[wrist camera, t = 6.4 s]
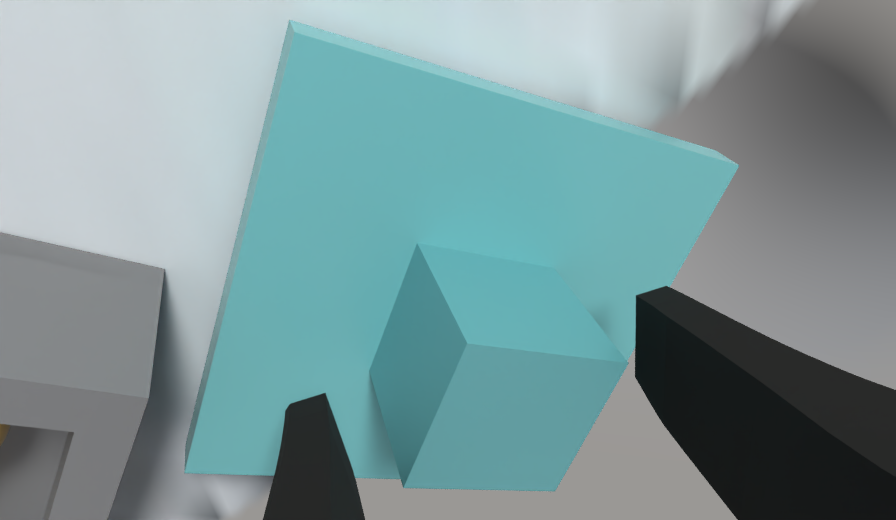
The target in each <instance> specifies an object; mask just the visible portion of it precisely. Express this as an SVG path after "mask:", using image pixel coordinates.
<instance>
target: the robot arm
mask: <svg viewBox="0 0 896 520" xmlns="http://www.w3.org/2000/svg"><path fill="white" fill-rule="evenodd" d="M635 377H636V379H637V381H638V383H639V384H640V386H641V388H642V389H643V391H644V393H645V395H646V397H647V398H648V400H649V402H650V403H651V405H652V407H653V408H654V410H655V412H656V413H657V415H658V417H659V418H660V420H661V421H662V423H663V424H664V426H665V427H666V428H667V430H668V431H669V432H670V434H671V435H672V436H673V438H674V439H675V440H676V441H677V443H678V444H679V445H680V447H681V448H682V449H683V451H684V452H685V453H686V454H687V456H688V457H689V458H690V460H691V461H692V462H693V463H694V464H695V466H696V467H697V468H698V470H699V471H700V472H701V474H702V475H703V476H704V477H705V479H706V480H707V481H708V482H709V484H710V485H711V486H712V487H713V489H714V490H715V491H716V493H717V494H718V495H719V496H720V498H721V499H722V500H723V502H724V503H725V504H726V505H727V507H728V508H729V509H730V510H731V512H732V513H733V514H734V516H735V517H736V518H737V519H738V520H896V390H894V389H891V388H888V387H886V386H883V385H880V384H877V383H874V382H871V381H869V380H866V379H863V378H861V377H858V376H856V375H853V374H851V373H848V372H846V371H843V370H841V369H839V368H836V367H834V366H831V365H829V364H827V363H825V362H822V361H820V360H818V359H815V358H813V357H811V356H808V355H806V354H804V353H802V352H799V351H797V350H795V349H793V348H791V347H788V346H786V345H784V344H782V343H780V342H778V341H776V340H773V339H771V338H769V337H767V336H765V335H763V334H761V333H759V332H757V331H755V330H753V329H751V328H749V327H747V326H745V325H743V324H741V323H739V322H737V321H735V320H733V319H731V318H729V317H727V316H725V315H723V314H721V313H719V312H718V311H716V310H714V309H712V308H710V307H708V306H706V305H704V304H702V303H700V302H698V301H696V300H694V299H692V298H690V297H688V296H686V295H684V294H682V293H680V292H678V291H676V290H674V289H672V288H670V287H668V286H664V287H661V288H658V289H654V290H651V291H648V292H645V293H642V294H638V295H636V335H635ZM263 520H365V517H364V513H363V509H362V505H361V501H360V496H359V492H358V488H357V484H356V480H355V476H354V472H353V469H352V466H351V463H350V460H349V457H348V455H347V452H346V449H345V446H344V443H343V441H342V438H341V435H340V432H339V429H338V427H337V424H336V421H335V418H334V415H333V412H332V410H331V407H330V404H329V401H328V398H327V396H326V393H323V394H320V395H316V396H313V397H310V398H307V399H304V400H300V401H297V402H294V403H291V404H290V405H289V406H288V407H287V409H286V410H285V419H284V427H283V434H282V440H281V446H280V451H279V456H278V461H277V466H276V470H275V475H274V479H273V483H272V487H271V491H270V495H269V498H268V502H267V506H266V510H265V514H264V518H263Z"/></svg>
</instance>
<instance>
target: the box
mask: <svg viewBox="0 0 896 520" xmlns="http://www.w3.org/2000/svg"><path fill="white" fill-rule="evenodd" d="M164 270H165V269H162V268H157V267H153V266H148V265H144V264H139V263H135V262H130V261H126V260H121V259H117V258H112V257H108V256H103V255H99V254H94V253H90V252H85V251H81V250H76V249H72V248H67V247H63V246H58V245H54V244H49V243H45V242H40V241H36V240H31V239H27V238H22V237H18V236H13V235H9V234H4V233H0V520H107V519H108V516H109V513H110V510H111V507H112V504H113V501H114V499H115V496H116V493H117V490H118V487H119V484H120V481H121V478H122V475H123V472H124V469H125V466H126V464H127V461H128V458H129V455H130V452H131V449H132V446H133V443H134V440H135V437H136V434H137V431H138V429H139V426H140V423H141V420H142V417H143V414H144V411H145V408H146V405H147V402H148V399H149V393H150V385H151V377H152V368H153V360H154V352H155V344H156V335H157V327H158V319H159V311H160V303H161V294H162V286H163V278H164Z"/></svg>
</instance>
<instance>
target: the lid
mask: <svg viewBox="0 0 896 520" xmlns="http://www.w3.org/2000/svg"><path fill="white" fill-rule="evenodd" d="M738 167H739V165H738V164H736V163H734V162H733V161H731V160H730V159H728V158H726V157H725V156H723V155H722V154H720V153H719V152H717V151H715V150H712V149H709V148H706V147H703V146H699V145H696V144H693V143H690V142H686V141H683V140H680V139H677V138H673V137H670V136H666V135H663V134H660V133H657V132H654V131H650V130H647V129H644V128H641V127H637V126H634V125H631V124H628V123H624V122H621V121H618V120H615V119H611V118H608V117H605V116H602V115H598V114H595V113H592V112H588V111H585V110H582V109H579V108H575V107H572V106H569V105H566V104H562V103H559V102H556V101H553V100H549V99H546V98H543V97H540V96H536V95H533V94H530V93H526V92H523V91H520V90H517V89H513V88H510V87H507V86H504V85H500V84H497V83H494V82H491V81H487V80H484V79H481V78H478V77H474V76H471V75H468V74H465V73H461V72H458V71H455V70H451V69H448V68H445V67H442V66H438V65H435V64H432V63H429V62H425V61H422V60H419V59H416V58H412V57H409V56H406V55H403V54H399V53H396V52H393V51H389V50H386V49H383V48H380V47H376V46H373V45H370V44H367V43H363V42H360V41H357V40H354V39H350V38H347V37H344V36H341V35H337V34H334V33H331V32H327V31H324V30H321V29H318V28H314V27H311V26H308V25H305V24H301V23H298V22H295V21H292V20H289V24H288V28H287V32H286V36H285V40H284V44H283V48H282V52H281V56H280V61H279V65H278V69H277V73H276V77H275V81H274V85H273V89H272V93H271V97H270V101H269V106H268V110H267V114H266V118H265V122H264V126H263V130H262V134H261V138H260V142H259V146H258V151H257V155H256V159H255V163H254V167H253V171H252V175H251V179H250V183H249V187H248V191H247V196H246V200H245V204H244V208H243V212H242V216H241V220H240V224H239V228H238V232H237V236H236V240H235V245H234V249H233V253H232V257H231V261H230V265H229V269H228V273H227V277H226V281H225V285H224V290H223V294H222V298H221V302H220V306H219V310H218V314H217V318H216V322H215V326H214V330H213V335H212V339H211V343H210V347H209V351H208V355H207V359H206V363H205V367H204V371H203V375H202V380H201V384H200V388H199V392H198V396H197V400H196V404H195V408H194V412H193V416H192V420H191V424H190V429H189V433H188V437H187V441H186V449H185V472H184V473H195V474H232V475H268V476H274V475H275V470H276V466H277V461H278V456H279V451H280V446H281V440H282V434H283V427H284V419H285V410H286V409H287V407H288V406H289V405H290V404H291V403H294V402H297V401H300V400H304V399H307V398H310V397H313V396H316V395H320V394H323V393H326V396H327V398H328V401H329V404H330V407H331V410H332V412H333V415H334V418H335V421H336V424H337V427H338V429H339V432H340V435H341V438H342V441H343V443H344V446H345V449H346V452H347V455H348V457H349V460H350V463H351V466H352V469H353V472H354V476H355V478H377V479H401V481H402V485H403V488H429V489H473V490H519V491H555V490H556V488H557V487H558V485H559V483H560V482H561V480H562V478H563V477H564V475H565V473H566V471H567V470H568V468H569V466H570V464H571V463H572V461H573V459H574V457H575V456H576V454H577V452H578V450H579V449H580V447H581V445H582V443H583V442H584V440H585V438H586V436H587V435H588V433H589V431H590V430H591V428H592V426H593V424H594V423H595V421H596V419H597V417H598V416H599V414H600V412H601V410H602V409H603V407H604V405H605V403H606V402H607V400H608V398H609V396H610V395H611V393H612V391H613V389H614V388H615V386H616V384H617V382H618V381H619V379H620V377H621V376H622V374H623V372H624V370H625V369H626V367H627V365H628V362H627V361H628V358H629V357H630V355H631V354H632V352H633V350H634V348H635V335H636V295H638V294H642V293H645V292H648V291H651V290H654V289H658V288H661V287H664V286H668V287H670V285H671V284H672V282H673V280H674V279H675V277H676V275H677V273H678V271H679V270H680V268H681V266H682V265H683V263H684V261H685V259H686V258H687V256H688V254H689V252H690V251H691V249H692V247H693V245H694V244H695V242H696V240H697V238H698V237H699V235H700V233H701V231H702V230H703V228H704V226H705V224H706V223H707V221H708V219H709V217H710V216H711V214H712V212H713V210H714V209H715V207H716V205H717V203H718V202H719V200H720V198H721V197H722V195H723V193H724V191H725V190H726V188H727V186H728V184H729V182H730V181H731V179H732V177H733V176H734V174H735V172H736V170H737V169H738Z"/></svg>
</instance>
